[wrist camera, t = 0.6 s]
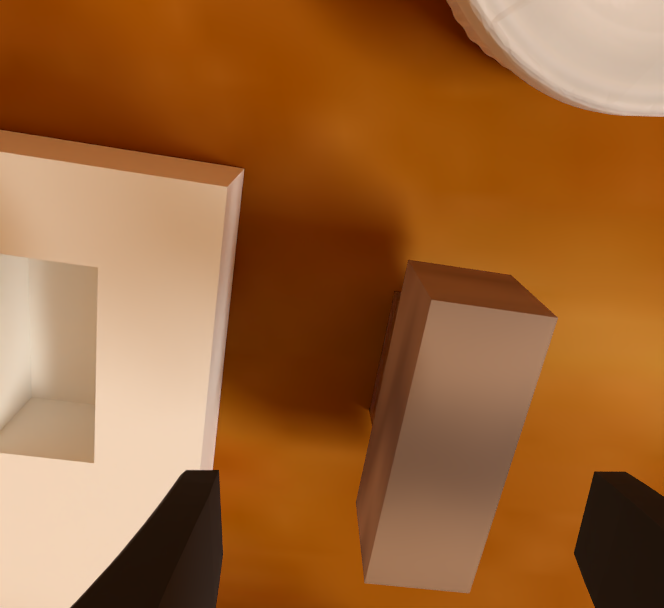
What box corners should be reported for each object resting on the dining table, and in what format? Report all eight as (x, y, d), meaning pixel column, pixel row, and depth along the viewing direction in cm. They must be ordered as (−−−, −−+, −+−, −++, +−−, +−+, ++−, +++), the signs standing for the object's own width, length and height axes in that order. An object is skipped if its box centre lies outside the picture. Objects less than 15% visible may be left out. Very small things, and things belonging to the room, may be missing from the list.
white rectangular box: (200, 581, 25) (180, 668, 21) (-37, 558, 24) (-102, 645, 20) (244, 168, 19) (227, 186, 15) (-73, 118, 18) (-175, 124, 14)
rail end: (427, 460, 23) (469, 593, 17) (350, 452, 23) (364, 582, 17) (482, 249, 20) (558, 317, 14) (394, 236, 20) (431, 299, 14)
